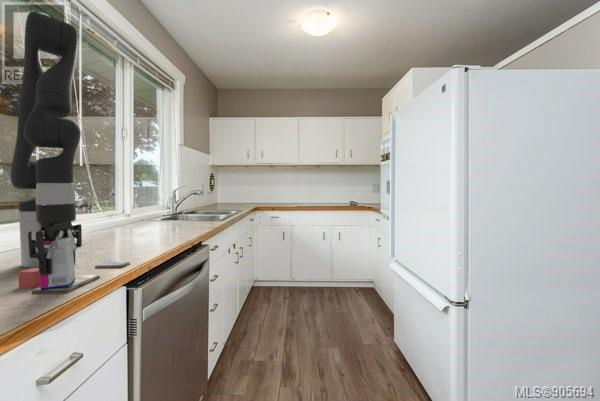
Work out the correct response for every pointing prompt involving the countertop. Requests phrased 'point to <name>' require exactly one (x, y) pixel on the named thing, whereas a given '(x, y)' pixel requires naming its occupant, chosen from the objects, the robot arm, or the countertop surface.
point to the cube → (29, 278)
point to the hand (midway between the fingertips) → (58, 270)
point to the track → (83, 279)
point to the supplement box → (59, 266)
